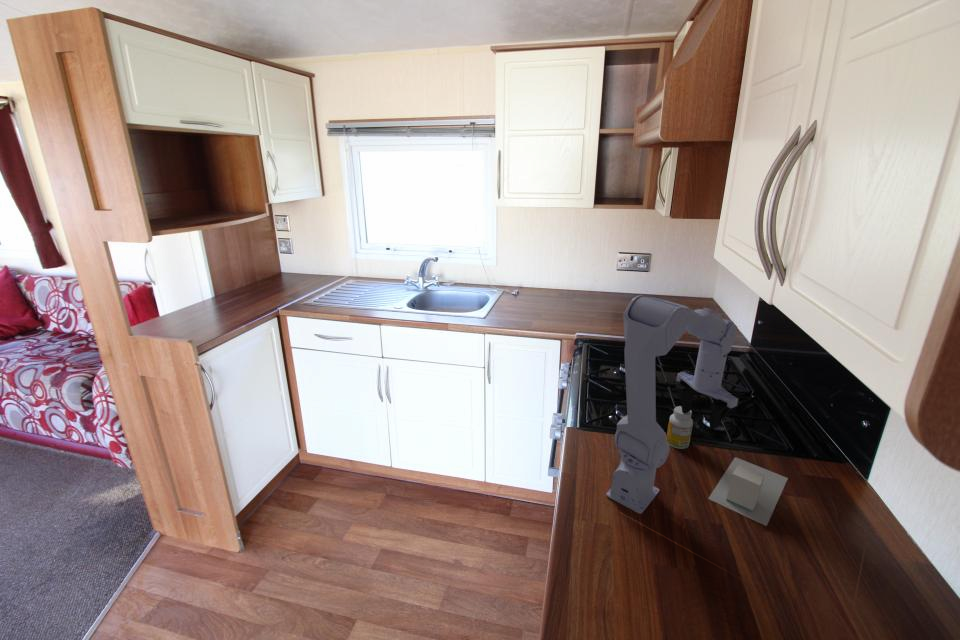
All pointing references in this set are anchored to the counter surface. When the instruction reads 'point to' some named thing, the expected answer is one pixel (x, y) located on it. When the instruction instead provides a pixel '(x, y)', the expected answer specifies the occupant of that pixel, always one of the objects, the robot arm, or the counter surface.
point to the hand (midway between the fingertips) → (699, 419)
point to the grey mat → (768, 493)
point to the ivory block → (745, 488)
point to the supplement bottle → (679, 428)
